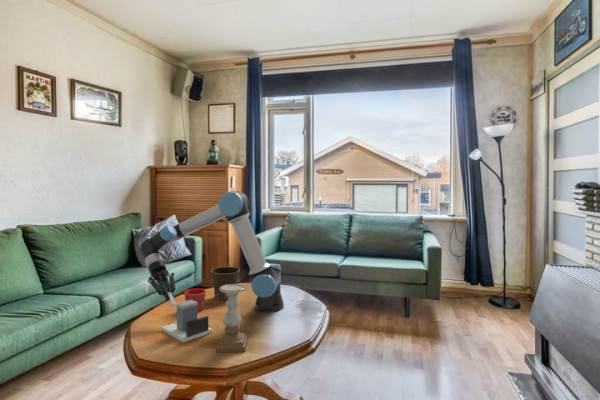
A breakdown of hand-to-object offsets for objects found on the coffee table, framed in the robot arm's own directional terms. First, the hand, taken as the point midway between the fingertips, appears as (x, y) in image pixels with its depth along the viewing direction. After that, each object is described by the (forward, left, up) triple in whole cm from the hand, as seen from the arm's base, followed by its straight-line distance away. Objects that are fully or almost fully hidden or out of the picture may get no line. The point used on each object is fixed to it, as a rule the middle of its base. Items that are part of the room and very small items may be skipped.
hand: (173, 305), depth 164 cm
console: (-10, +6, -9) cm, 15 cm away
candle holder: (-35, +15, -9) cm, 39 cm away
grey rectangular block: (-10, +6, -7) cm, 14 cm away
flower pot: (0, -20, -9) cm, 22 cm away
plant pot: (-7, -42, -9) cm, 44 cm away
